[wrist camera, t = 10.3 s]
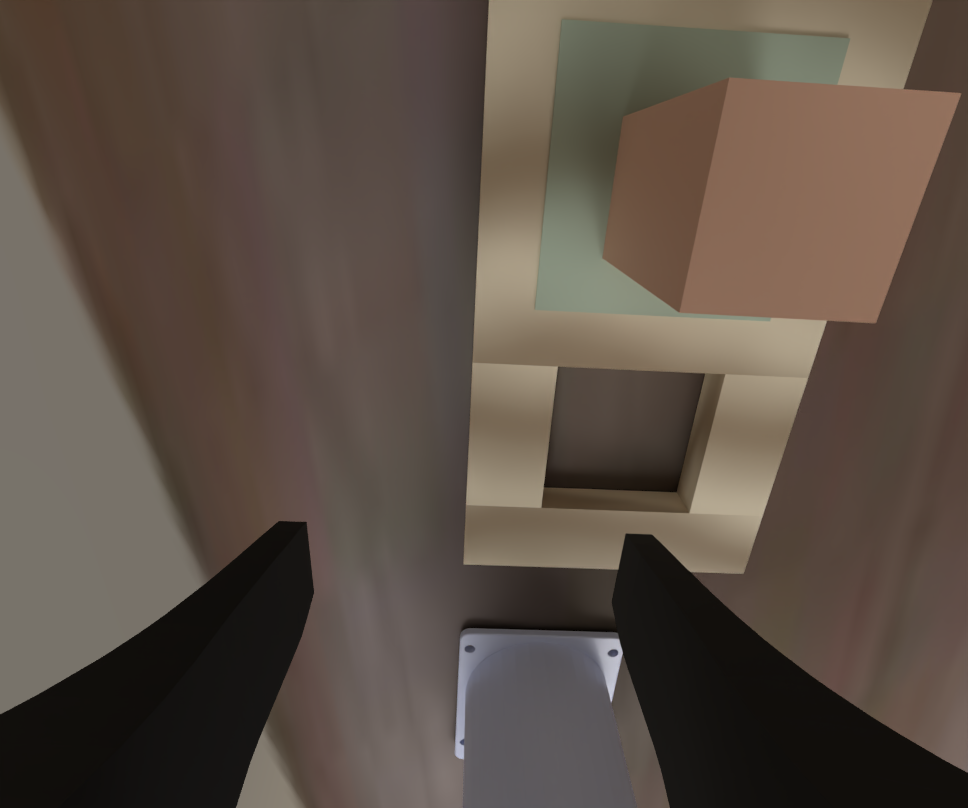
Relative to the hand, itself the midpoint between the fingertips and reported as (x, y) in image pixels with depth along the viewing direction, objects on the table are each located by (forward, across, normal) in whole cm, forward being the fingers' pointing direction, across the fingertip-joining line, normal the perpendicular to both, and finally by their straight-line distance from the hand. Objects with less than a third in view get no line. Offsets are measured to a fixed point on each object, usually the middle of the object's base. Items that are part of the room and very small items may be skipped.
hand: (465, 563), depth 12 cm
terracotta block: (+8, -6, -8) cm, 13 cm away
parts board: (+9, -6, -3) cm, 12 cm away
